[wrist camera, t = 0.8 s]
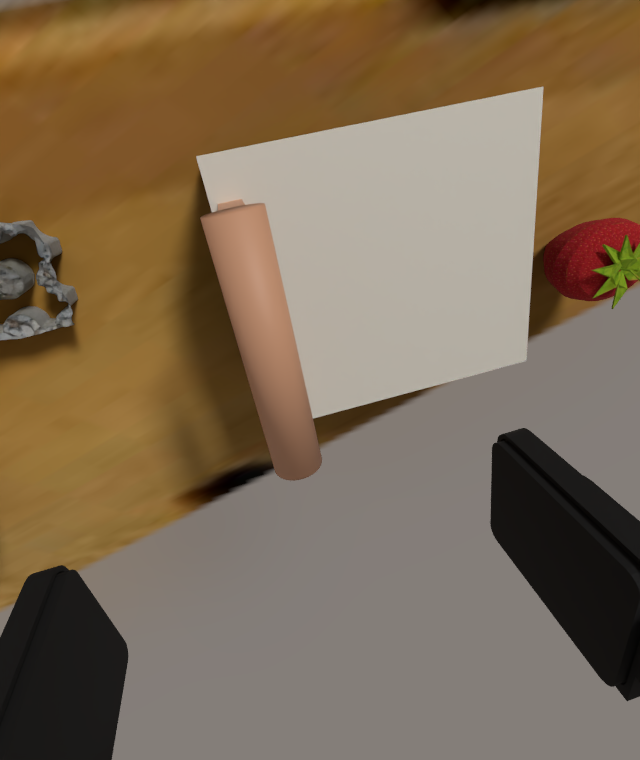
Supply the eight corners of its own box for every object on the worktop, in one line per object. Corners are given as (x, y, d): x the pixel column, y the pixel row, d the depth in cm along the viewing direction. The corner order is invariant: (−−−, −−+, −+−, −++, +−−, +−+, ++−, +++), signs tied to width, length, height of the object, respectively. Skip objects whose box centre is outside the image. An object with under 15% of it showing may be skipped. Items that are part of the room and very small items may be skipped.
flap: (536, 88, 23) (686, 54, 15) (521, 357, 30) (616, 419, 23) (192, 157, 21) (179, 156, 14) (269, 425, 29) (286, 515, 21)
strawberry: (587, 269, 39) (694, 301, 30) (510, 292, 38) (597, 331, 30) (593, 200, 36) (714, 213, 27) (510, 223, 35) (606, 244, 27)
